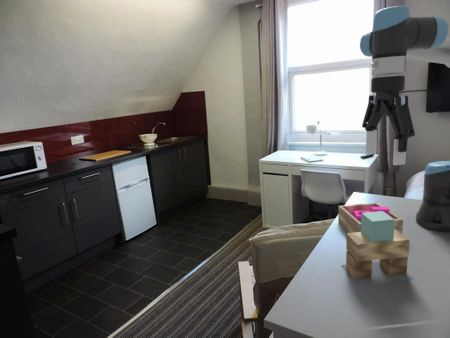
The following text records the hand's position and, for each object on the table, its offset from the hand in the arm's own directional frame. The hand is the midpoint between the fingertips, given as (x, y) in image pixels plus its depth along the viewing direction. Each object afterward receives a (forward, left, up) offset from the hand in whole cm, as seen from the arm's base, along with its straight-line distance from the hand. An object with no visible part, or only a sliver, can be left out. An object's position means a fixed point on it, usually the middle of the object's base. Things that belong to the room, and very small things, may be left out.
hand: (383, 158), depth 85 cm
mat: (+2, +2, -33) cm, 33 cm away
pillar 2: (-3, +2, -32) cm, 33 cm away
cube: (+2, +2, -21) cm, 22 cm away
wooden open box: (-9, -24, -33) cm, 42 cm away
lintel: (+2, +2, -26) cm, 26 cm away
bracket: (-9, -24, -33) cm, 42 cm away
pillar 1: (+7, +2, -32) cm, 33 cm away
